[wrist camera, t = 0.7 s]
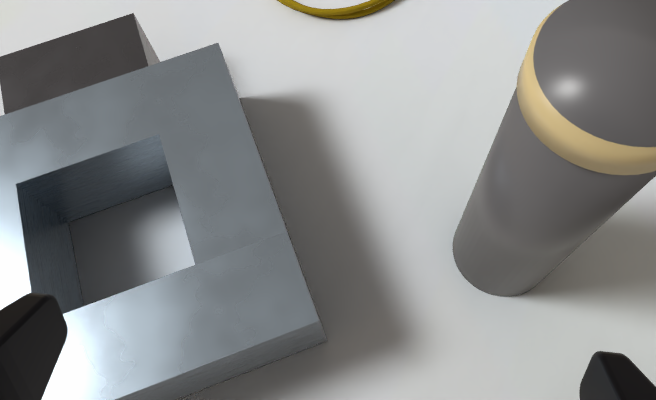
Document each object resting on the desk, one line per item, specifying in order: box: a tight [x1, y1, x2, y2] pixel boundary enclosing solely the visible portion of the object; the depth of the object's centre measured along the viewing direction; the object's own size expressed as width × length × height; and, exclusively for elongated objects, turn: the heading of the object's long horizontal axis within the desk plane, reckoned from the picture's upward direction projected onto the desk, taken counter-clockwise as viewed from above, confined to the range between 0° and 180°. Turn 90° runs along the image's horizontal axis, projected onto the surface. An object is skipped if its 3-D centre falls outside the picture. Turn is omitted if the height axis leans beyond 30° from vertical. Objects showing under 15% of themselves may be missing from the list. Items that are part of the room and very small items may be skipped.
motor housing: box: [0, 13, 327, 400], centre depth 25 cm, size 18×14×4 cm
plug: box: [453, 0, 656, 296], centre depth 19 cm, size 5×5×14 cm
